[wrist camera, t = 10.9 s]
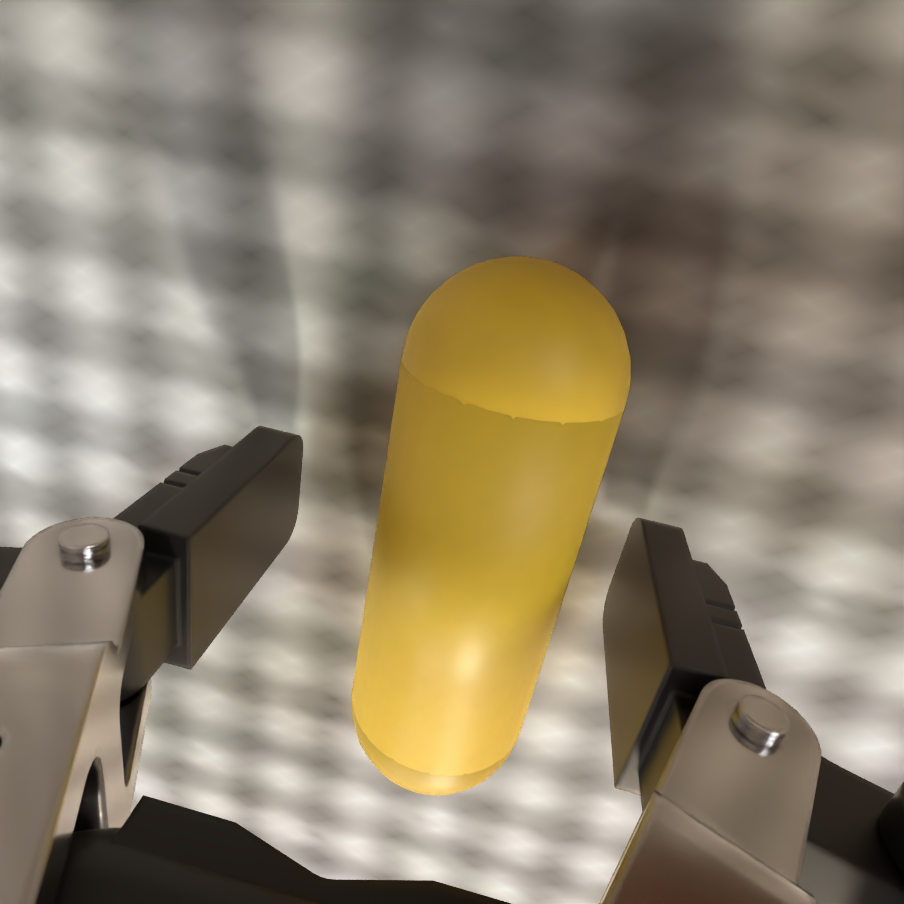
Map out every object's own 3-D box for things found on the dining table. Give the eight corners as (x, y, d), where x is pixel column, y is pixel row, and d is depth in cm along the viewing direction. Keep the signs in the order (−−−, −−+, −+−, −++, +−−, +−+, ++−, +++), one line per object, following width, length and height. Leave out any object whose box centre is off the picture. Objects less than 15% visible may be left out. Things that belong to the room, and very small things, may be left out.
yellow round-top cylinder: (413, 222, 9) (427, 261, 6) (614, 257, 10) (708, 308, 7) (347, 687, 13) (337, 835, 11) (490, 693, 14) (518, 837, 11)
